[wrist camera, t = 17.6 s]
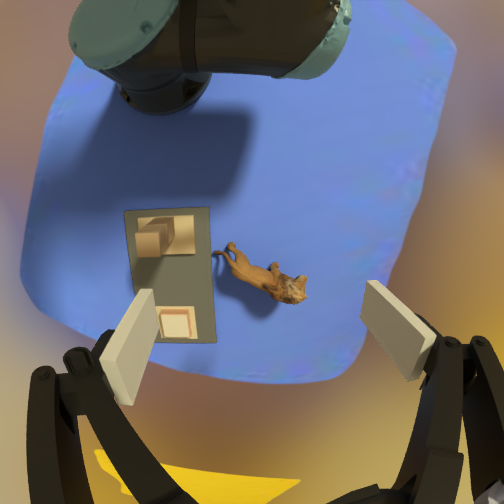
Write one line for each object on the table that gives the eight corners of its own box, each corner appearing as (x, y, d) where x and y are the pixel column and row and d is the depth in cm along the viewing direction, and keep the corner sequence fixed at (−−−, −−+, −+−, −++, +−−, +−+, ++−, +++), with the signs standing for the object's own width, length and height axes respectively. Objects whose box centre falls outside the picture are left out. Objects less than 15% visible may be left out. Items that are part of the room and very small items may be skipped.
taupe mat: (125, 210, 41) (124, 211, 41) (209, 206, 42) (208, 207, 42) (146, 339, 49) (145, 341, 49) (216, 340, 50) (216, 342, 50)
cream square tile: (161, 309, 47) (159, 314, 45) (189, 309, 47) (187, 314, 45) (165, 332, 48) (163, 337, 46) (191, 332, 49) (190, 338, 47)
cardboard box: (138, 217, 41) (113, 234, 31) (193, 215, 42) (182, 231, 32) (142, 253, 43) (120, 279, 33) (195, 252, 44) (186, 279, 34)
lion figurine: (301, 262, 47) (317, 284, 38) (290, 289, 48) (302, 316, 40) (217, 236, 44) (215, 254, 36) (208, 266, 46) (204, 290, 37)
